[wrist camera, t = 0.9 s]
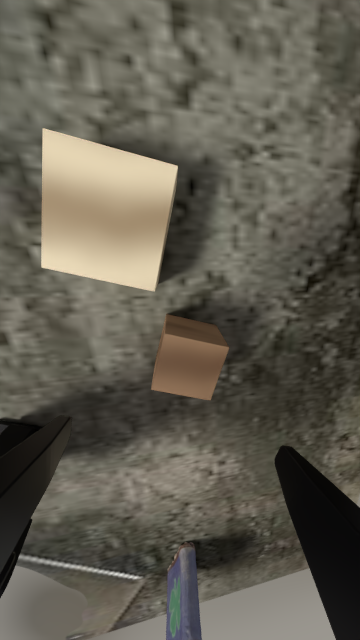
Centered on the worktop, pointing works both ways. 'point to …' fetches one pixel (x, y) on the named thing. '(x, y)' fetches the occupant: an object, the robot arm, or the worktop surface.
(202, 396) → the walnut cube
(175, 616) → the flask
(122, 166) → the beech block
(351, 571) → the robot arm
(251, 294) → the worktop surface
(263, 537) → the worktop surface
